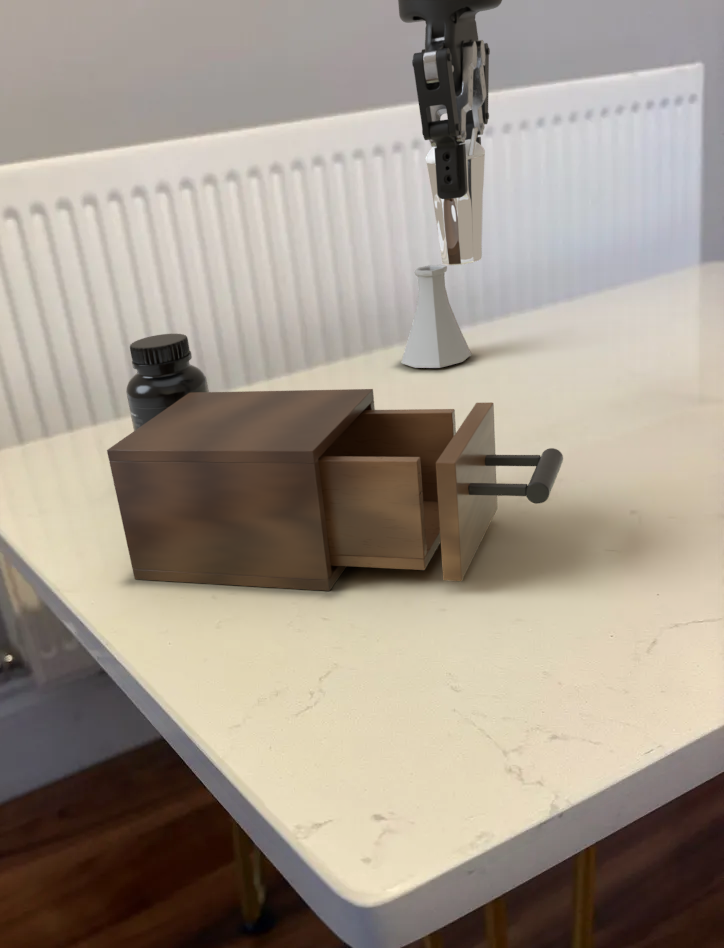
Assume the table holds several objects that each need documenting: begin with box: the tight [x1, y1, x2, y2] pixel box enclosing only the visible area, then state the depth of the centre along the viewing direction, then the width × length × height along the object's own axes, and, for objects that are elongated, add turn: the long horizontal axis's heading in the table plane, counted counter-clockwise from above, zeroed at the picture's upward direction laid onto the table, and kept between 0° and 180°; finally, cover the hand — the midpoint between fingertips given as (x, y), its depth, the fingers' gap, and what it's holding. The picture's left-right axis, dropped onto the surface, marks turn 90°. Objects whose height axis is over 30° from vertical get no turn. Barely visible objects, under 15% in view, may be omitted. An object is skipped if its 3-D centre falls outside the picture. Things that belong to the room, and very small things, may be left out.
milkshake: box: [424, 127, 486, 266], centre depth 81 cm, size 4×5×10 cm
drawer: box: [318, 402, 564, 582], centre depth 68 cm, size 18×11×8 cm, turn 68°
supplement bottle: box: [126, 333, 210, 432], centre depth 87 cm, size 7×7×12 cm
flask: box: [400, 264, 472, 369], centre depth 110 cm, size 7×7×10 cm
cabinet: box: [106, 388, 376, 592], centre depth 72 cm, size 15×13×10 cm
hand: (461, 191), depth 81 cm, fingers closed on milkshake, 4 cm apart
